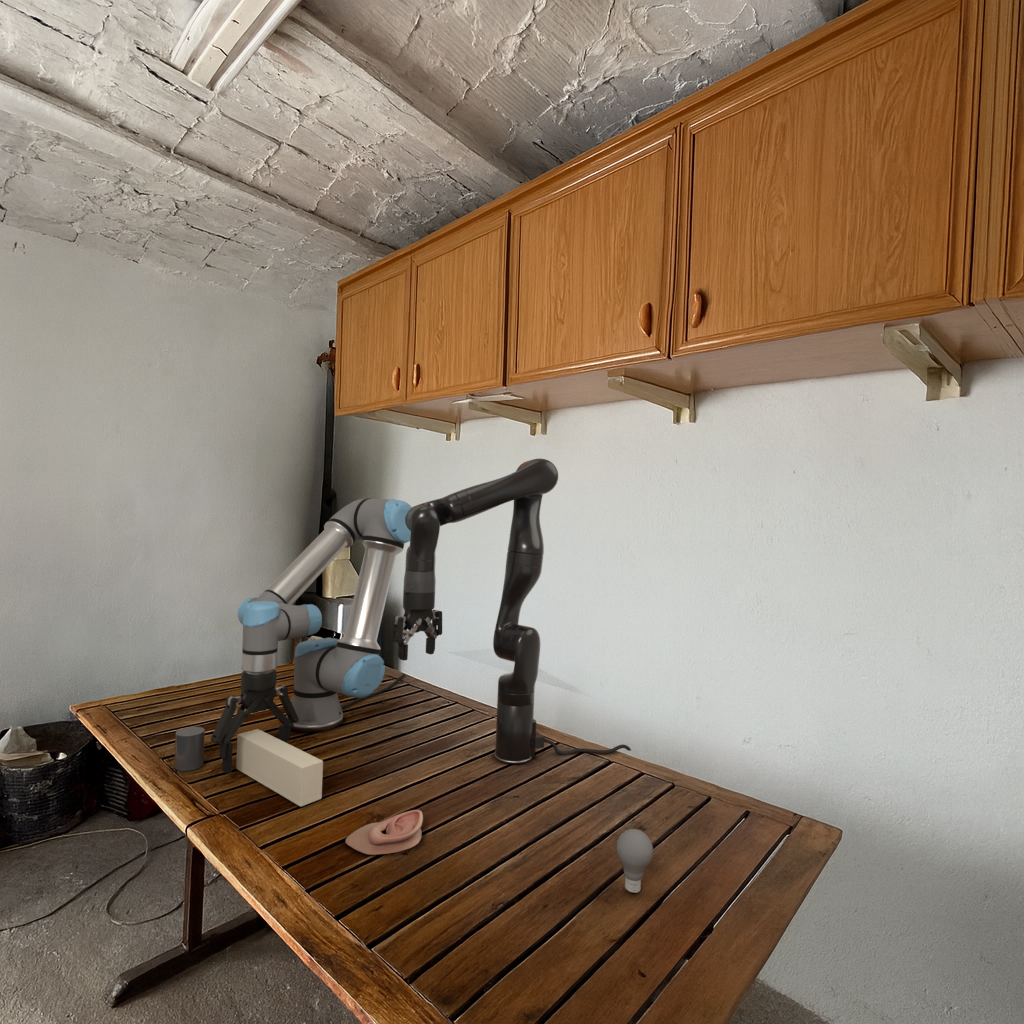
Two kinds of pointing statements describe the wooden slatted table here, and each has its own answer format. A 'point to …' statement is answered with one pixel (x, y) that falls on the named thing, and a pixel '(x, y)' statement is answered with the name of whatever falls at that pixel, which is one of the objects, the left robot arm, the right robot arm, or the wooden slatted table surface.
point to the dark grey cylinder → (189, 748)
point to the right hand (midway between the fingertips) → (416, 656)
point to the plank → (280, 766)
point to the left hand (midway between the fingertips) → (255, 763)
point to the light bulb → (634, 857)
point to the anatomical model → (388, 834)
